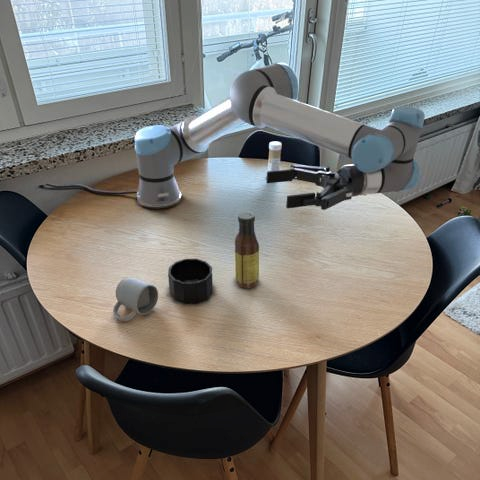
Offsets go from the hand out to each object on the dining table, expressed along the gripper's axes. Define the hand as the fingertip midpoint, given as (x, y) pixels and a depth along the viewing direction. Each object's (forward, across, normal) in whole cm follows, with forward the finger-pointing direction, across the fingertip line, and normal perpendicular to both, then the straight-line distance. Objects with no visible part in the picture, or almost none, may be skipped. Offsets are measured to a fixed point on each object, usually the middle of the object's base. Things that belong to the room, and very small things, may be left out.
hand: (276, 189), depth 103 cm
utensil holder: (+22, 0, -26) cm, 34 cm away
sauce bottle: (+7, 0, -26) cm, 27 cm away
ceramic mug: (+37, -4, -26) cm, 45 cm away
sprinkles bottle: (-23, +62, -26) cm, 71 cm away
